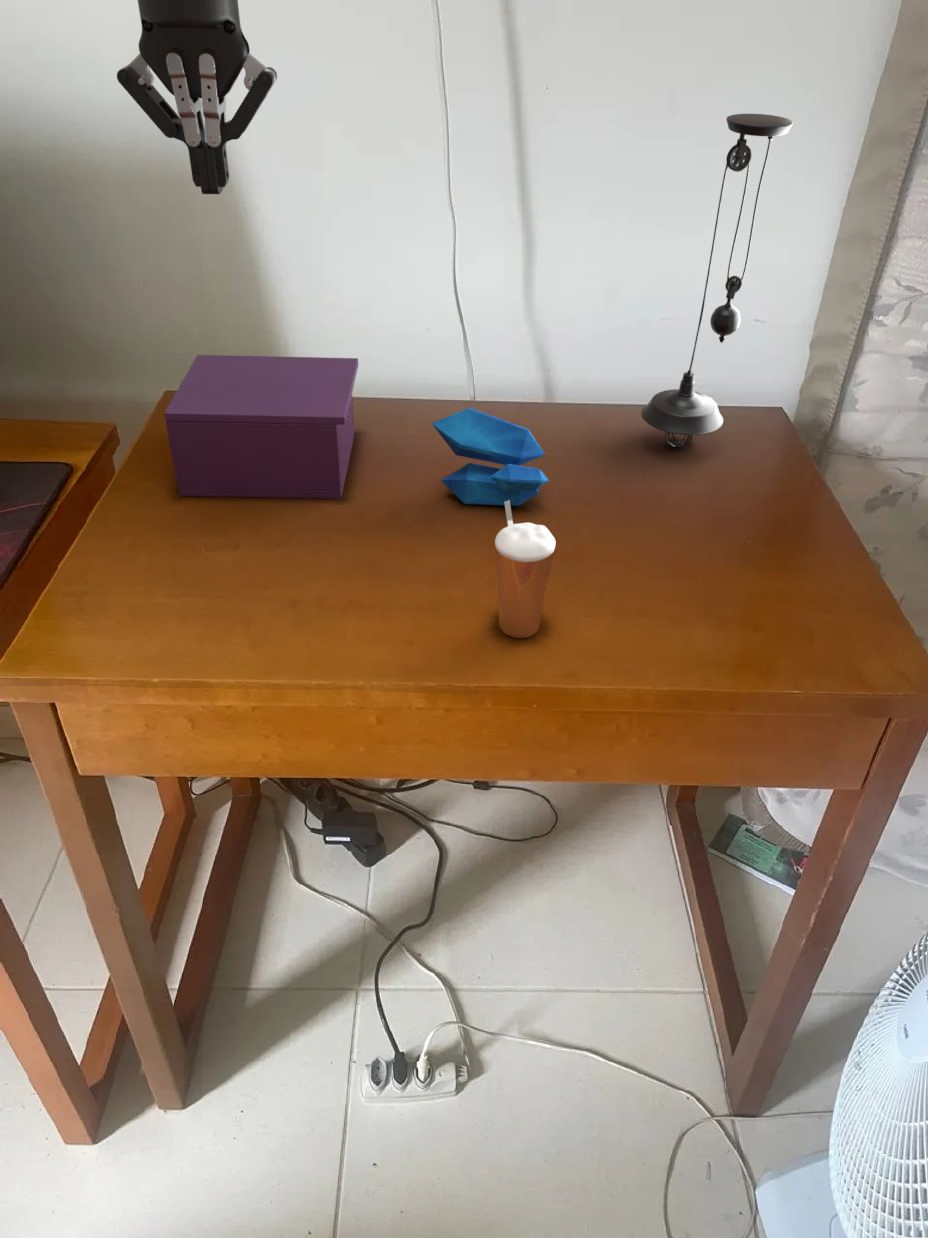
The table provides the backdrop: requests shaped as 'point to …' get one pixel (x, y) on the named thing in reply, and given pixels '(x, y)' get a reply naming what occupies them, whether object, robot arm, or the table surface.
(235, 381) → the lid
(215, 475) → the box
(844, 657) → the table surface
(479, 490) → the gemstones
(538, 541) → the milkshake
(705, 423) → the light fixture
